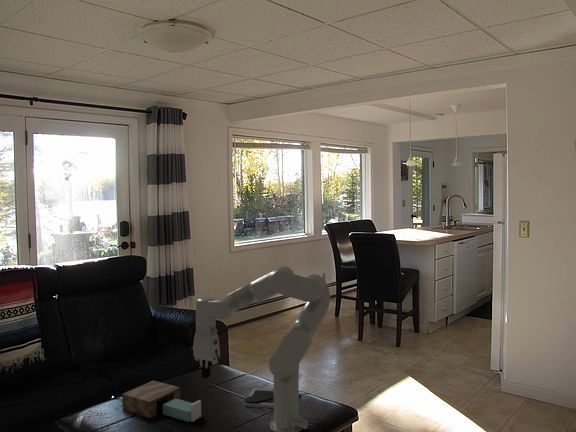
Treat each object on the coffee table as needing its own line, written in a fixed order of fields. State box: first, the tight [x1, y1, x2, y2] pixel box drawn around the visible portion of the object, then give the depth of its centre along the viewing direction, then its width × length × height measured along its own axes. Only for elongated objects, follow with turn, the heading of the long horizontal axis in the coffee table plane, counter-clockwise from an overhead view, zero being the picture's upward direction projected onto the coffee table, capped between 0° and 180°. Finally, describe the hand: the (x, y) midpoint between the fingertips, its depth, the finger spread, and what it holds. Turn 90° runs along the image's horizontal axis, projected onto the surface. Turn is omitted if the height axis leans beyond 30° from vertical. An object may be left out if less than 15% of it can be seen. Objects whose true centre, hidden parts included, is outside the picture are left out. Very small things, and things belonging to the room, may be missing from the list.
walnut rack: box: [121, 380, 181, 419], centre depth 205 cm, size 16×17×6 cm
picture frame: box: [243, 388, 274, 409], centre depth 210 cm, size 16×3×21 cm
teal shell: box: [162, 398, 202, 423], centre depth 196 cm, size 15×7×6 cm, turn 59°
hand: (206, 376), depth 189 cm, fingers closed
